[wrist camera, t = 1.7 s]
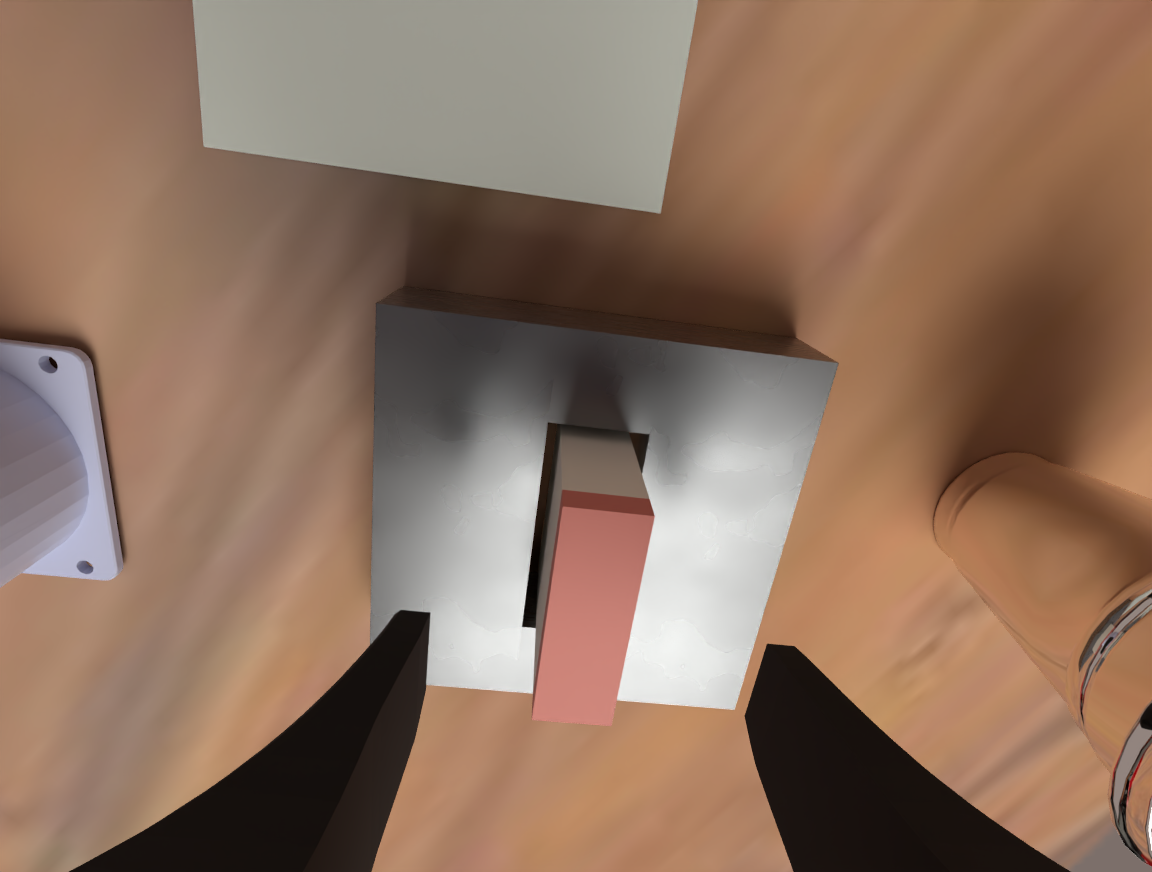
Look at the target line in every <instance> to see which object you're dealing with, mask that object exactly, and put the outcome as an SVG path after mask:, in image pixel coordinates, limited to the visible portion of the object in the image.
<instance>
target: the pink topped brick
mask: <svg viewBox="0 0 1152 872" xmlns="http://www.w3.org/2000/svg"><path fill="white" fill-rule="evenodd" d="M654 518H655V515H654V512H653V509H652V505H651V502H650V499H649V496H648V492H647V489H646V486H645V483H644V480H643V476H642V473H641V470H640V467H639V464H638V460H637V457H636V454H635V451H634V448H633V444H632V441H631V438H630V435H629V432H626V431H618V430H609V429H601V428H592V427H584V426H575V425H566V424H558V423H557V428H556V435H555V443H554V450H553V458H552V465H551V473H550V480H549V488H548V495H547V502H546V510H545V517H544V525H543V532H542V540H541V547H540V555H539V563H538V586H537V610H536V633H535V656H534V680H533V703H532V720H540V721H553V722H566V723H579V724H592V725H604V726H611V725H612V720H613V716H614V711H615V706H616V701H617V696H618V691H619V687H620V682H621V677H622V672H623V667H624V663H625V658H626V653H627V648H628V643H629V639H630V634H631V629H632V624H633V619H634V614H635V610H636V605H637V600H638V595H639V590H640V586H641V581H642V576H643V571H644V566H645V562H646V557H647V552H648V547H649V542H650V537H651V533H652V528H653V523H654Z"/></svg>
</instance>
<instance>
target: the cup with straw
mask: <svg viewBox="0 0 1152 872" xmlns="http://www.w3.org/2000/svg"><path fill="white" fill-rule="evenodd" d="M934 534H935V537H936V541H937V543H938V544H939V546H940V548H941V550H942V551H943V552H944V553H945V554H946V555H947V556H948V557H950V558H951V559H953V562H954V563H955V565H956V567H957V569H958V571H959V572H960V573H961V574H962V576H963V577H964V578H965V579H966V580H967V582H968V583H969V584H970V585H971V587H972V588H973V589H974V590H975V592H976V593H977V594H978V595H979V596H980V598H981V599H982V600H983V601H984V603H985V604H986V605H987V606H988V608H989V609H990V610H991V611H992V612H993V614H994V615H995V616H996V617H997V619H998V620H999V621H1000V622H1001V623H1002V625H1003V626H1004V627H1005V628H1006V630H1007V631H1008V632H1009V633H1010V635H1011V636H1012V637H1013V638H1014V639H1015V641H1016V642H1017V643H1018V644H1019V646H1020V647H1021V648H1022V649H1023V651H1024V652H1025V653H1026V654H1027V655H1028V657H1029V658H1030V659H1031V660H1032V662H1033V663H1034V664H1035V665H1036V666H1037V668H1038V669H1039V670H1040V671H1041V673H1042V674H1043V675H1044V676H1045V678H1046V679H1047V680H1048V681H1049V682H1050V684H1051V685H1052V686H1053V687H1054V689H1055V690H1056V691H1057V692H1058V693H1059V695H1060V696H1061V697H1062V698H1063V700H1064V701H1065V702H1066V703H1067V705H1068V709H1069V711H1070V713H1071V715H1072V717H1073V719H1074V721H1075V723H1076V725H1077V726H1078V727H1079V728H1080V730H1081V731H1082V732H1083V734H1084V735H1085V736H1086V737H1087V739H1088V740H1089V742H1090V744H1091V746H1092V748H1093V750H1094V752H1095V754H1096V756H1097V758H1098V759H1099V760H1100V762H1101V763H1102V764H1103V765H1104V766H1105V768H1106V769H1107V770H1108V771H1109V772H1110V781H1109V788H1108V802H1109V808H1110V814H1111V820H1112V823H1113V825H1114V827H1115V828H1116V830H1117V832H1118V834H1119V836H1120V838H1121V840H1122V841H1123V843H1124V845H1125V846H1126V847H1127V848H1128V849H1129V850H1130V851H1131V852H1133V853H1134V854H1135V855H1136V856H1137V857H1138V858H1139V859H1140V860H1141V861H1142V862H1144V863H1146V864H1147V865H1149V866H1151V867H1152V499H1149V498H1147V497H1144V496H1141V495H1139V494H1136V493H1134V492H1131V491H1128V490H1126V489H1123V488H1121V487H1118V486H1115V485H1113V484H1110V483H1107V482H1105V481H1102V480H1100V479H1097V478H1094V477H1092V476H1089V475H1086V474H1084V473H1081V472H1079V471H1076V470H1073V469H1071V468H1068V467H1065V466H1063V465H1057V464H1051V463H1049V462H1048V461H1047V460H1045V459H1044V458H1041V457H1039V456H1036V455H1034V454H1029V453H1023V452H1011V453H1003V454H999V455H994V456H991V457H989V458H986V459H984V460H981V461H979V462H978V463H976V464H974V465H972V466H971V467H969V468H967V469H966V470H965V471H964V472H962V473H961V474H960V475H959V476H957V477H956V479H955V480H954V481H953V482H952V483H951V484H950V485H949V486H948V487H947V489H946V490H945V492H944V493H943V495H942V496H941V498H940V501H939V503H938V505H937V508H936V511H935V516H934Z"/></svg>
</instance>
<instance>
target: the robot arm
mask: <svg viewBox="0 0 1152 872" xmlns="http://www.w3.org/2000/svg"><path fill="white" fill-rule="evenodd" d="M49 357H52V358H53V359H54V360H55V361H56V363H57V365H58V369H56V368H54V367H53V366H52V365H51V364H50V361H49ZM86 561H87V562H89V563H90V564H92V566H93V567H92V566H90V565H88V564H87V563H86ZM122 569H123V559H122V552H121V546H120V540H119V533H118V527H117V520H116V514H115V507H114V501H113V494H112V488H111V481H110V475H109V468H108V462H107V456H106V449H105V443H104V436H103V430H102V423H101V417H100V410H99V404H98V397H97V391H96V384H95V378H94V372H93V365H92V363H91V360H90V358H89V357H88V356H87V355H86V353H84V352H83V351H81V350H80V349H76V348H73V347H66V346H58V345H49V344H41V343H32V342H24V341H16V340H7V339H0V588H1V587H2V586H3V585H5V584H6V583H8V582H9V581H11V580H12V579H13V578H15V577H16V576H18V575H19V574H20V573H27V574H39V575H50V576H61V577H72V578H83V579H94V580H111V579H113V578H115V577H116V576H117V575H118V574H119V573H120V572H121V571H122ZM430 613H431V612H420V611H409V610H400V611H398V612H397V613H396V614H395V615H394V616H393V617H392V619H391V620H390V621H389V623H388V624H387V625H386V626H385V628H384V629H383V630H382V632H381V633H380V634H379V635H378V636H377V638H376V639H375V640H374V641H373V642H372V644H371V645H370V646H369V647H368V648H367V649H366V651H365V652H364V653H363V654H362V655H361V656H360V657H359V658H358V659H357V661H356V662H355V663H354V664H353V665H352V666H351V667H350V668H349V669H348V670H347V671H346V672H345V674H344V675H343V676H342V677H341V678H340V679H339V680H338V681H337V682H336V683H335V684H334V685H333V686H332V687H331V688H330V689H329V690H328V691H327V692H326V693H325V694H324V695H323V696H322V697H321V698H320V699H319V700H318V701H317V702H316V703H315V704H313V705H312V706H311V707H310V708H309V709H308V710H307V711H306V712H305V713H304V714H303V715H302V716H301V717H300V718H298V719H297V720H296V721H295V722H294V723H293V724H292V725H291V726H289V727H288V728H287V729H286V730H285V731H284V732H283V733H281V734H280V735H279V736H278V737H276V738H275V739H274V740H273V741H272V742H270V743H269V744H268V745H267V746H266V747H264V748H263V749H262V750H261V751H259V752H258V753H257V754H255V755H254V756H253V757H251V758H250V759H249V760H248V761H246V762H245V763H244V764H242V765H241V766H240V767H238V768H237V769H236V770H234V771H233V772H232V773H230V774H229V775H228V776H226V777H225V778H223V779H222V780H221V781H219V782H218V783H216V784H215V785H214V786H212V787H211V788H209V789H208V790H206V791H205V792H203V793H202V794H200V795H199V796H197V797H196V798H194V799H193V800H191V801H189V802H188V803H186V804H185V805H183V806H182V807H180V808H179V809H177V810H176V811H174V812H173V813H171V814H169V815H168V816H166V817H165V818H163V819H162V820H160V821H159V822H157V823H155V824H154V825H152V826H150V827H149V828H147V829H145V830H144V831H142V832H140V833H139V834H137V835H135V836H133V837H132V838H130V839H128V840H126V841H124V842H122V843H121V844H119V845H117V846H115V847H113V848H112V849H110V850H108V851H106V852H104V853H103V854H101V855H99V856H97V857H95V858H93V859H92V860H90V861H88V862H86V863H84V864H83V865H81V866H79V867H77V868H75V869H73V870H71V871H69V872H371V871H372V868H373V864H374V861H375V858H376V854H377V851H378V848H379V845H380V842H381V839H382V836H383V833H384V830H385V827H386V824H387V821H388V818H389V815H390V812H391V809H392V806H393V803H394V800H395V797H396V794H397V791H398V788H399V785H400V782H401V779H402V776H403V773H404V770H405V767H406V764H407V761H408V758H409V755H410V752H411V749H412V746H413V743H414V740H415V736H416V732H417V728H418V723H419V719H420V714H421V710H422V705H423V700H424V696H425V691H426V679H427V662H428V646H429V629H430ZM745 720H746V724H747V729H748V734H749V739H750V744H751V748H752V752H753V756H754V760H755V764H756V767H757V770H758V773H759V776H760V779H761V782H762V785H763V788H764V791H765V793H766V796H767V799H768V802H769V805H770V807H771V810H772V813H773V816H774V819H775V821H776V824H777V827H778V830H779V832H780V835H781V838H782V841H783V844H784V846H785V849H786V852H787V855H788V857H789V860H790V863H791V866H792V869H793V871H794V872H1070V871H1069V870H1067V869H1065V868H1064V867H1062V866H1060V865H1059V864H1057V863H1056V862H1054V861H1053V860H1051V859H1049V858H1048V857H1046V856H1045V855H1043V854H1042V853H1040V852H1039V851H1037V850H1035V849H1034V848H1032V847H1031V846H1029V845H1028V844H1026V843H1025V842H1024V841H1022V840H1021V839H1019V838H1018V837H1016V836H1015V835H1013V834H1012V833H1010V832H1009V831H1008V830H1006V829H1005V828H1003V827H1002V826H1000V825H999V824H997V823H996V822H994V821H993V820H992V819H990V818H989V817H987V816H986V815H985V814H983V813H982V812H981V811H979V810H978V809H976V808H975V807H974V806H972V805H971V804H970V803H968V802H967V801H966V800H964V799H963V798H962V797H961V796H959V795H958V794H957V793H955V792H954V791H953V790H952V789H950V788H949V787H948V786H946V785H945V784H944V783H943V782H941V781H940V780H939V779H937V778H936V777H935V776H934V775H933V774H931V773H930V772H929V771H928V770H927V769H925V768H924V767H923V766H922V765H921V764H919V763H918V762H917V761H916V760H915V759H914V758H912V757H911V756H910V755H909V754H908V753H907V752H906V751H904V750H903V749H902V748H901V747H900V746H899V745H898V744H896V743H895V742H894V741H893V740H892V739H891V738H890V737H889V736H888V735H886V734H885V733H884V732H883V731H882V730H881V729H880V728H879V727H878V726H877V725H876V724H875V723H873V722H872V721H871V720H870V719H869V718H868V717H867V716H866V715H865V714H864V713H863V712H862V711H861V710H860V709H859V708H858V707H857V706H856V705H855V704H854V703H853V702H851V701H850V700H849V699H848V698H847V697H846V696H845V695H844V694H843V693H842V692H841V691H840V690H839V689H838V688H837V687H836V686H835V685H834V684H833V683H832V682H831V681H830V680H829V679H828V678H827V677H826V676H825V675H824V674H823V673H822V672H821V671H820V670H819V669H818V668H817V667H816V666H815V665H814V664H813V663H812V662H811V661H810V660H809V659H808V658H807V657H806V656H805V655H804V654H802V653H801V652H800V651H799V650H798V649H797V648H796V647H795V646H786V645H775V644H767V646H766V649H765V652H764V656H763V659H762V662H761V665H760V669H759V672H758V675H757V678H756V681H755V685H754V688H753V691H752V694H751V698H750V701H749V704H748V707H747V710H746V714H745Z"/></svg>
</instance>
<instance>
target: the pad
mask: <svg viewBox="0 0 1152 872" xmlns="http://www.w3.org/2000/svg"><path fill="white" fill-rule="evenodd" d="M697 3H698V0H193V13H194V26H195V39H196V52H197V65H198V78H199V92H200V105H201V118H202V131H203V144H204V147H209V148H216V149H223V150H229V151H236V152H243V153H250V154H257V155H264V156H270V157H277V158H284V159H291V160H298V161H305V162H311V163H318V164H325V165H332V166H339V167H346V168H353V169H359V170H366V171H373V172H380V173H387V174H394V175H400V176H407V177H414V178H421V179H428V180H435V181H441V182H448V183H455V184H462V185H469V186H476V187H483V188H489V189H496V190H503V191H510V192H517V193H524V194H530V195H537V196H544V197H551V198H558V199H565V200H571V201H578V202H585V203H592V204H599V205H606V206H613V207H619V208H626V209H633V210H640V211H647V212H654V213H660V214H661V208H662V203H663V197H664V191H665V185H666V180H667V174H668V168H669V163H670V157H671V151H672V146H673V140H674V134H675V129H676V123H677V117H678V112H679V106H680V100H681V94H682V89H683V83H684V77H685V72H686V66H687V60H688V55H689V49H690V43H691V38H692V32H693V26H694V20H695V15H696V9H697Z"/></svg>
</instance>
